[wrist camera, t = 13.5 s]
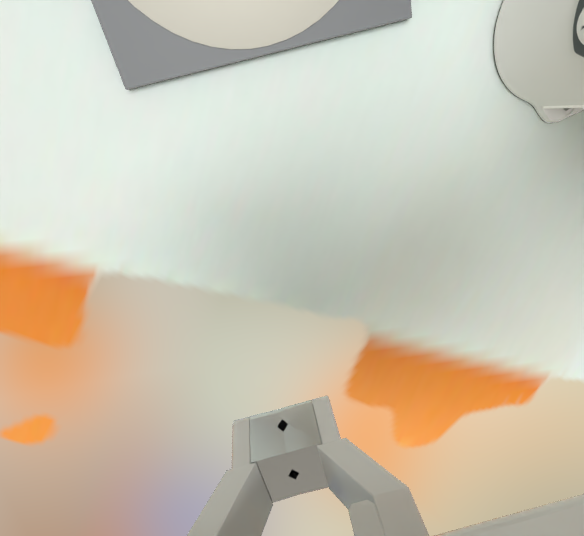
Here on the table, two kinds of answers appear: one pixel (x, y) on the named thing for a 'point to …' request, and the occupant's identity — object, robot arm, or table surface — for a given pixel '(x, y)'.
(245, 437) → the robot arm
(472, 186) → the table surface
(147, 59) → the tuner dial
